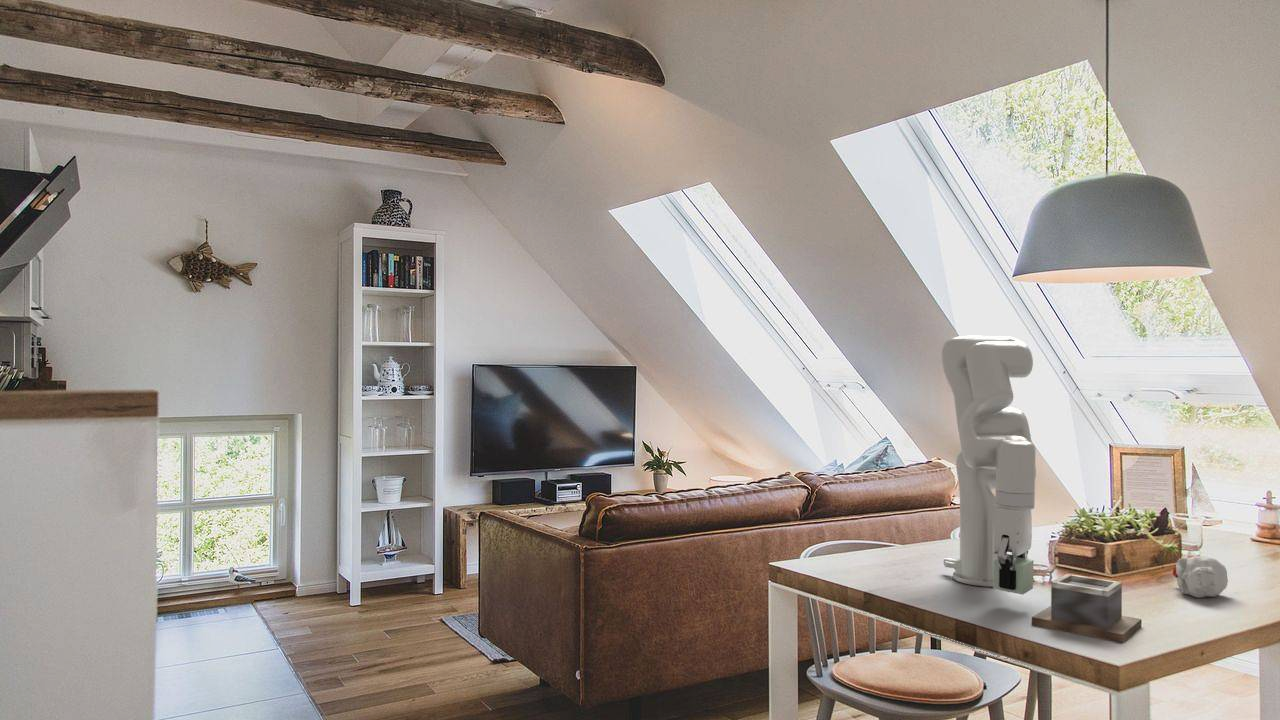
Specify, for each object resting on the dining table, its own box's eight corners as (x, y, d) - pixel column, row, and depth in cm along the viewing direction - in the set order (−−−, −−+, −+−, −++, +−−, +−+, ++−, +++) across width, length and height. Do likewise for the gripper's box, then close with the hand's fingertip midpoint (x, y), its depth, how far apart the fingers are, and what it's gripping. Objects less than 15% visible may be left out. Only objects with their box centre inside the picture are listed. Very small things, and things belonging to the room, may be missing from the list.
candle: (1200, 600, 186) (1154, 591, 201) (1249, 600, 187) (1200, 591, 202) (1196, 558, 187) (1151, 552, 202) (1245, 557, 188) (1196, 552, 203)
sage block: (993, 588, 179) (993, 560, 179) (1003, 582, 184) (1004, 555, 183) (1022, 594, 175) (1023, 565, 175) (1032, 588, 180) (1033, 560, 179)
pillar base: (1031, 624, 168) (1031, 581, 168) (1054, 610, 179) (1054, 569, 179) (1122, 642, 157) (1122, 596, 158) (1141, 626, 168) (1141, 583, 168)
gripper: (1011, 492, 188) (1009, 573, 188) (980, 502, 175) (979, 590, 176) (1047, 496, 183) (1045, 580, 183) (1018, 507, 170) (1017, 598, 170)
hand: (1013, 584), depth 179 cm, fingers closed on sage block, 6 cm apart
